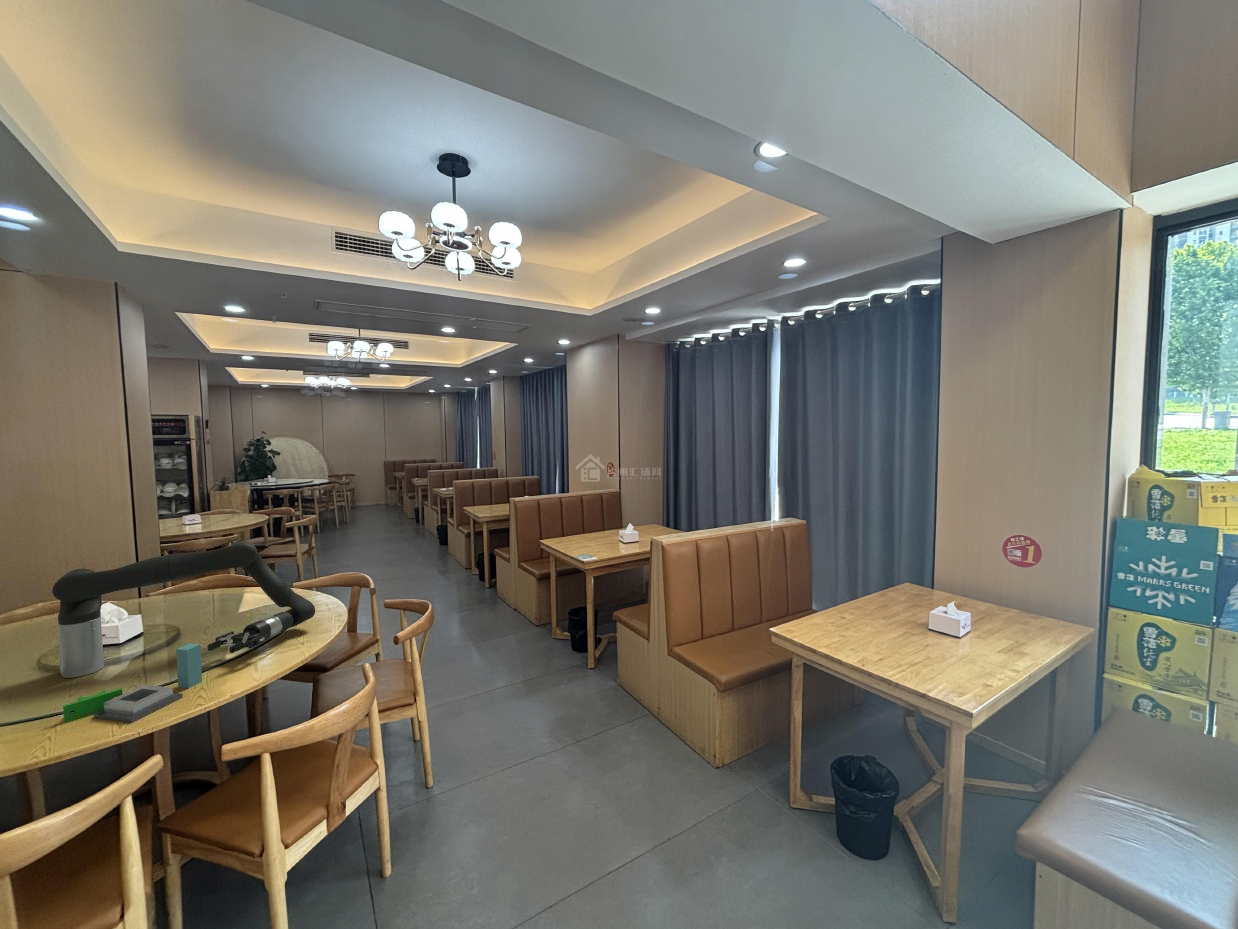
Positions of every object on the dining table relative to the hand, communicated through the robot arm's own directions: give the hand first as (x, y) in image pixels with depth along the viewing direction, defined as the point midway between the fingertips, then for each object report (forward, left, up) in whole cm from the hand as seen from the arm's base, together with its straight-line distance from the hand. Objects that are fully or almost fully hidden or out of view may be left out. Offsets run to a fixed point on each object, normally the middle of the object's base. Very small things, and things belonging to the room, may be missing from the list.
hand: (219, 649), depth 160 cm
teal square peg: (0, -10, -7) cm, 12 cm away
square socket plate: (-1, -23, -7) cm, 24 cm away
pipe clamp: (-12, -26, -7) cm, 30 cm away
